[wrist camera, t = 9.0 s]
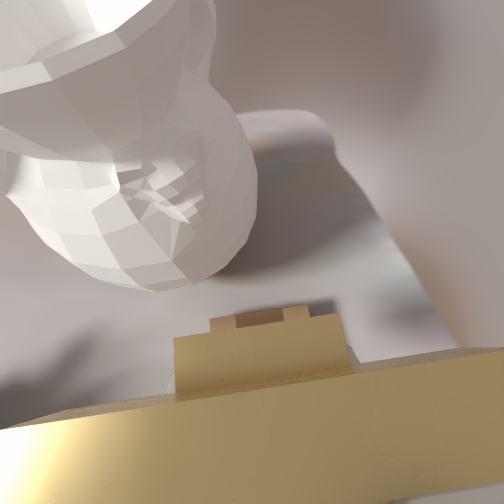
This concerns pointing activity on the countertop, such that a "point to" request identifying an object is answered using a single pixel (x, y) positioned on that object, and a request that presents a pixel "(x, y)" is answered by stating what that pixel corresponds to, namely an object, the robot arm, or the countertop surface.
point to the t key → (273, 427)
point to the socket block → (259, 318)
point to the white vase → (123, 138)
